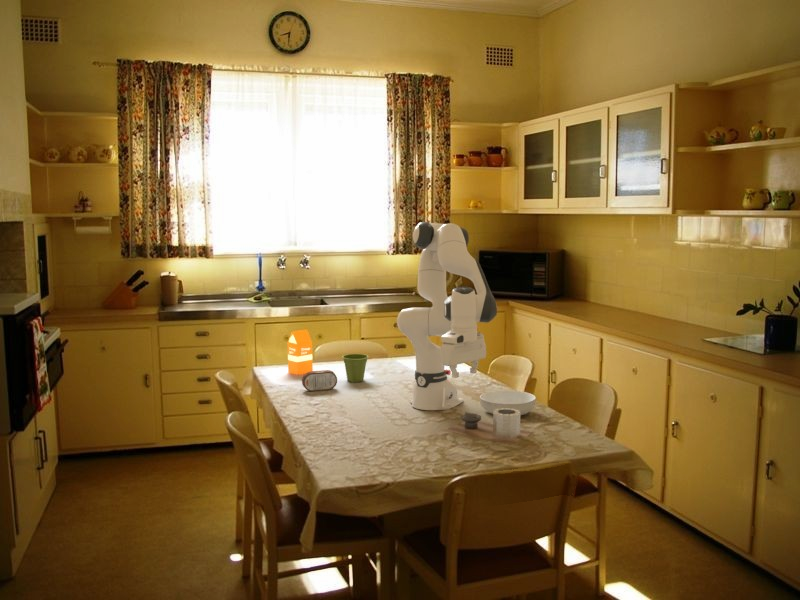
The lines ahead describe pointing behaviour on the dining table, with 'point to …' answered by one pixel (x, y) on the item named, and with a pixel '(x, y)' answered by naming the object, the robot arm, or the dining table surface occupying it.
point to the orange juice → (300, 352)
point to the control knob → (471, 420)
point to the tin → (319, 380)
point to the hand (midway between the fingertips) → (464, 375)
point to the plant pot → (355, 366)
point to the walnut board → (485, 432)
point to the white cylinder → (506, 423)
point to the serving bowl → (508, 400)
